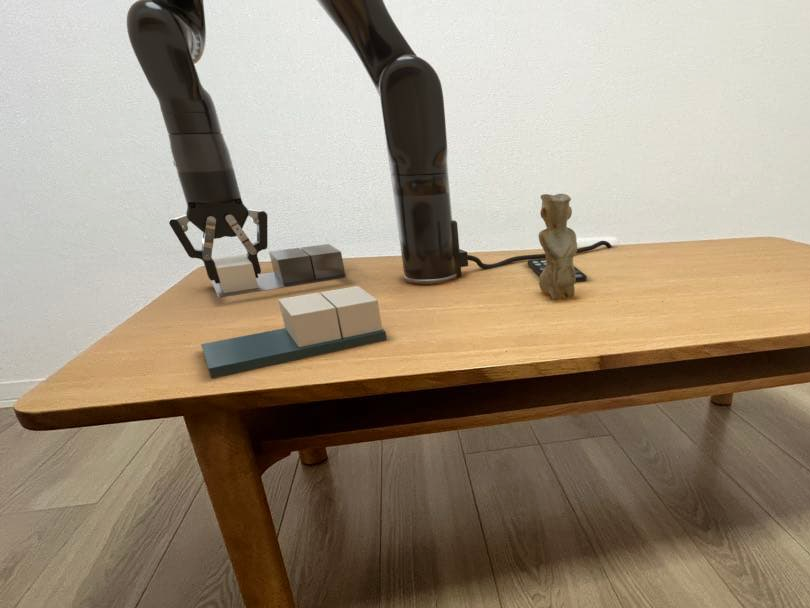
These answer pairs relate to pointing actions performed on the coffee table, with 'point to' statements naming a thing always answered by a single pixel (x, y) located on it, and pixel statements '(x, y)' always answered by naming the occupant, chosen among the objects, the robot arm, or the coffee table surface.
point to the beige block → (235, 273)
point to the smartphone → (540, 264)
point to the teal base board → (302, 332)
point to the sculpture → (557, 247)
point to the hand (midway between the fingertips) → (236, 279)
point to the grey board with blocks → (297, 269)
